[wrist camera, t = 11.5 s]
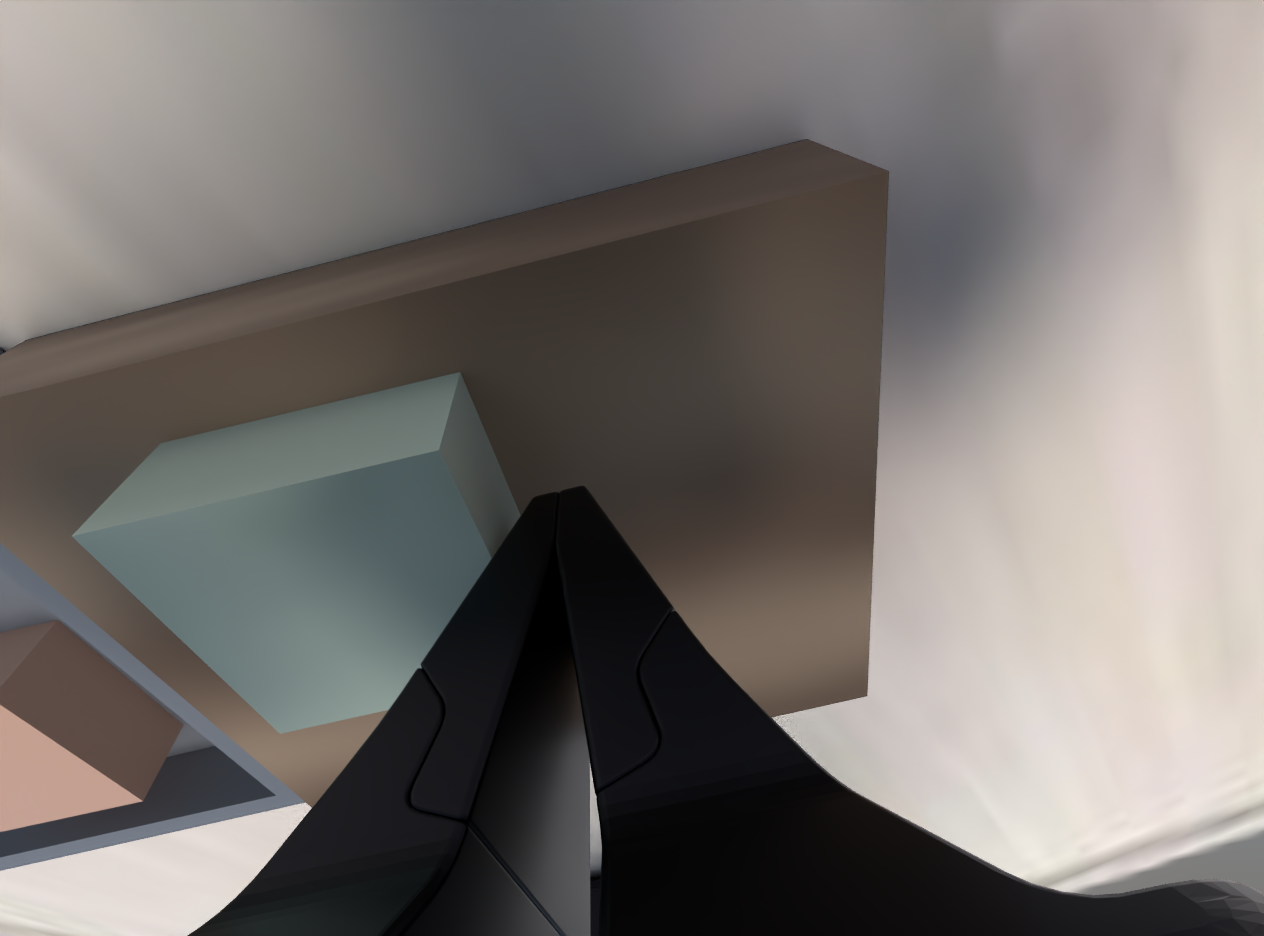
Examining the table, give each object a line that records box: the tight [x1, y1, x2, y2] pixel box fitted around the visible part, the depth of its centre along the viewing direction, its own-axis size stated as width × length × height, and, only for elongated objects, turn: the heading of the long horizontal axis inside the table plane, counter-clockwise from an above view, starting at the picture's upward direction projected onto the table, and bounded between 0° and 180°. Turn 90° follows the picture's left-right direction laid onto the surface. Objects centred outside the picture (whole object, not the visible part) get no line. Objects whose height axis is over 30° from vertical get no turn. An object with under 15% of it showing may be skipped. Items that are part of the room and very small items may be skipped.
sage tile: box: [72, 372, 521, 734], centre depth 9 cm, size 4×4×2 cm
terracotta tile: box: [0, 620, 184, 832], centre depth 14 cm, size 4×4×2 cm
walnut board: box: [0, 139, 889, 807], centre depth 13 cm, size 12×14×3 cm
